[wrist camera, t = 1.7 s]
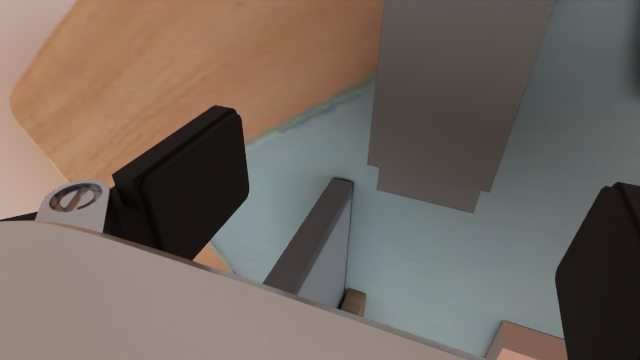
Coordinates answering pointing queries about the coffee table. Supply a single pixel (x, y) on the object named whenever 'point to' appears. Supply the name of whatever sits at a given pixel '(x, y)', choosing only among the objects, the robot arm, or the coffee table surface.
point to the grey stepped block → (450, 93)
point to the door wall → (354, 303)
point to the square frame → (525, 345)
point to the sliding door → (318, 250)
